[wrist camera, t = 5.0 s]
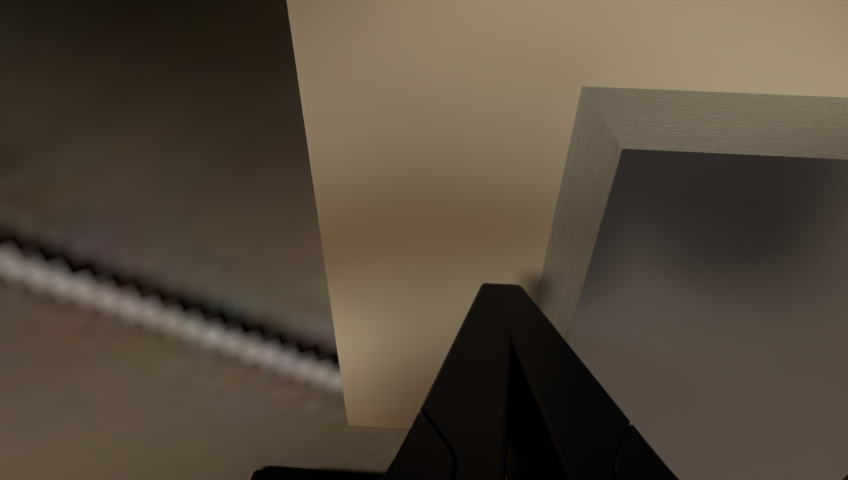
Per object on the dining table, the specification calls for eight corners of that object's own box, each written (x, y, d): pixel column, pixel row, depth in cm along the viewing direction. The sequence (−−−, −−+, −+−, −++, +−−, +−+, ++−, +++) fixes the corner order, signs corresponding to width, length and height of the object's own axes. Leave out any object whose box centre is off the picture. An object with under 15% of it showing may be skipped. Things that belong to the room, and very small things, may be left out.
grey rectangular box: (753, 412, 12) (809, 511, 10) (515, 395, 12) (525, 488, 10) (972, 103, 7) (1156, 174, 5) (582, 86, 8) (622, 148, 6)
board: (830, 420, 14) (951, 590, 10) (356, 390, 15) (322, 539, 11) (1249, -72, 7) (2036, -49, 3) (299, -83, 8) (163, -74, 4)
